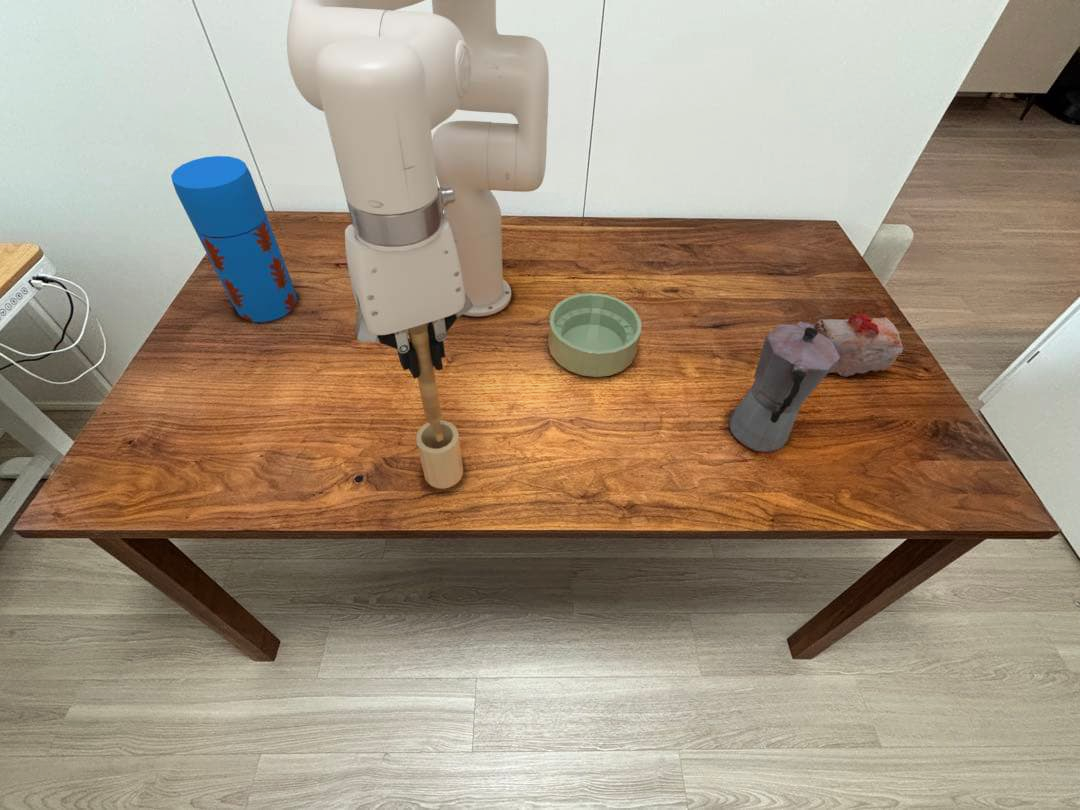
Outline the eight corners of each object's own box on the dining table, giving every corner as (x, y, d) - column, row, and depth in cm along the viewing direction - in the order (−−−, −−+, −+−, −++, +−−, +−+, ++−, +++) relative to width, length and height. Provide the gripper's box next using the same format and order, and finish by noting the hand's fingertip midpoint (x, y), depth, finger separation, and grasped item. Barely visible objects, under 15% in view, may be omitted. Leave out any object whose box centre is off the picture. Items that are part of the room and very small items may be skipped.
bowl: (533, 334, 96) (533, 308, 92) (604, 310, 102) (608, 284, 97) (576, 390, 88) (580, 364, 83) (652, 361, 93) (659, 335, 88)
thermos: (223, 313, 97) (152, 179, 78) (263, 280, 104) (208, 150, 85) (271, 329, 95) (211, 195, 76) (310, 295, 102) (263, 164, 83)
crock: (419, 467, 77) (409, 428, 70) (454, 453, 79) (449, 414, 72) (432, 496, 74) (424, 459, 67) (469, 481, 76) (465, 443, 69)
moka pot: (791, 406, 87) (849, 309, 72) (787, 481, 77) (854, 387, 62) (732, 390, 89) (776, 292, 74) (721, 462, 79) (770, 367, 64)
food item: (864, 346, 97) (893, 303, 90) (887, 378, 92) (920, 335, 85) (793, 350, 96) (816, 306, 88) (812, 382, 91) (839, 339, 83)
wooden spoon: (425, 428, 69) (403, 323, 56) (439, 422, 70) (422, 317, 56) (433, 443, 67) (412, 339, 54) (448, 438, 68) (431, 333, 55)
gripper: (464, 176, 51) (475, 325, 64) (290, 212, 45) (343, 367, 59) (499, 213, 46) (503, 365, 60) (311, 258, 41) (363, 413, 55)
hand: (423, 365), depth 60 cm, fingers closed on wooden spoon, 2 cm apart
